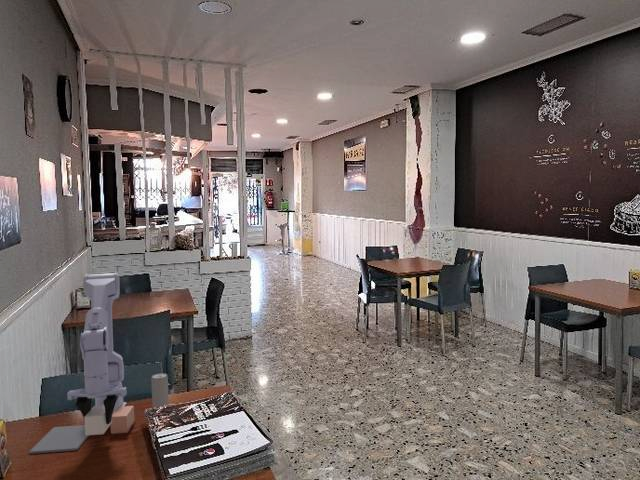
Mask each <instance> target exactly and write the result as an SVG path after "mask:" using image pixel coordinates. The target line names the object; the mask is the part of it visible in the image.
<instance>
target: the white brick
mask: <svg viewBox="0 0 640 480" xmlns="http://www.w3.org/2000/svg"><path fill="white" fill-rule="evenodd" d="M84 419H85V420H84ZM83 420H84V425H85V435H89V436H96V435H104V434H105V433H106V431H107V430H108V429H109V427H111V423H112V419H111V422H110V424H106V412H105V407H104V405H98V406H96V405H93V407H91V410H90V411H89V412H88V413H87V415H86V416H85V417H83Z"/></svg>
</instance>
